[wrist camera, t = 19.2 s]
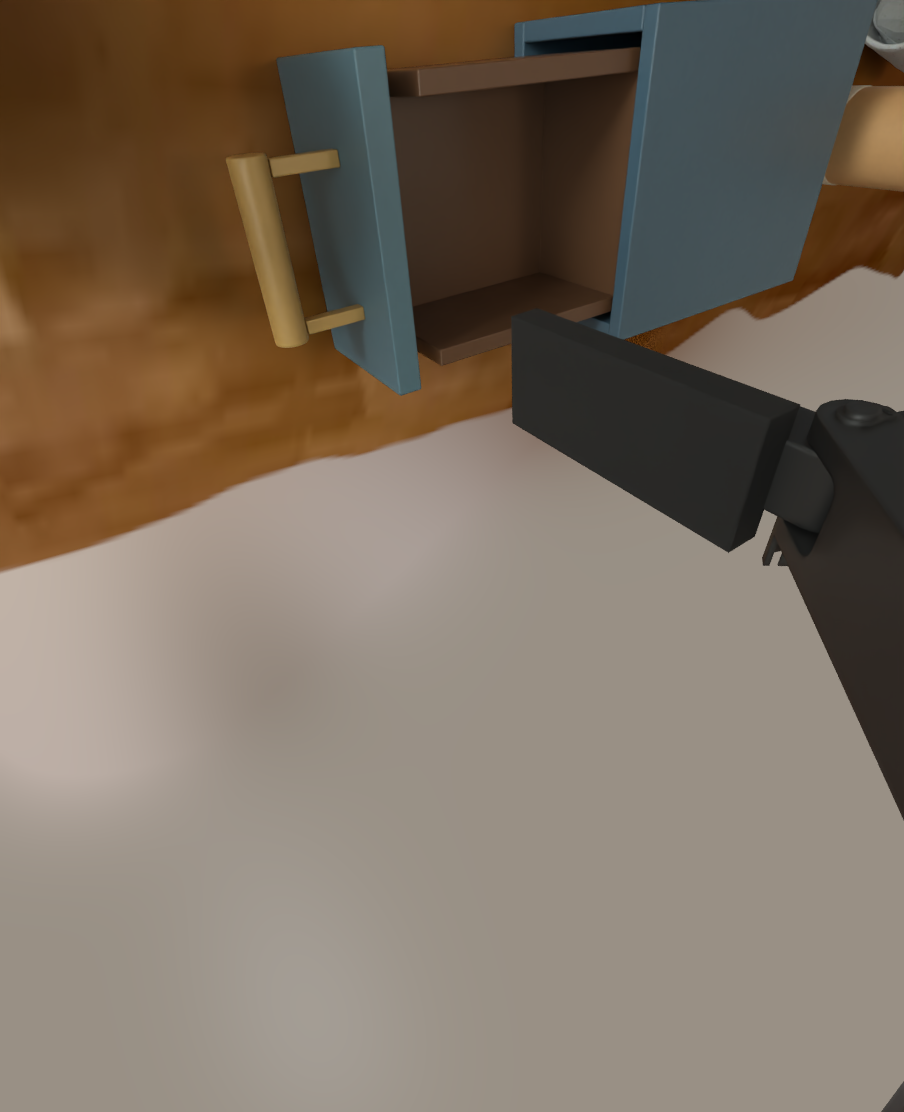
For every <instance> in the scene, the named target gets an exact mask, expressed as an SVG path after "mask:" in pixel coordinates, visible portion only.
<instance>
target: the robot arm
mask: <svg viewBox="0 0 904 1112" xmlns="http://www.w3.org/2000/svg"><path fill="white" fill-rule="evenodd" d="M511 332H512V415H513V424H515V425H517V426H518V427H520V428H522V429H523V430H525V431H527V432H528V433H530V434H532V435H533V436H535V437H537V438H538V439H540V440H542V441H543V442H545V443H547V444H548V445H550V446H552V447H554V448H555V449H557V450H558V451H560V452H562V453H563V454H565V455H567V456H568V457H570V458H572V459H573V460H575V461H577V462H578V463H580V464H582V465H583V466H585V467H587V468H588V469H590V470H592V471H593V472H595V473H597V474H599V475H600V476H602V477H603V478H605V479H607V480H608V481H610V482H612V483H613V484H615V485H617V486H618V487H620V488H622V489H623V490H625V491H627V492H629V493H630V494H632V495H633V496H635V497H637V498H639V499H640V500H642V501H644V502H645V503H647V504H648V505H650V506H652V507H653V508H655V509H657V510H658V511H660V512H662V513H664V514H665V515H667V516H669V517H670V518H672V519H673V520H675V521H677V522H678V523H680V524H682V525H683V526H685V527H687V528H689V529H690V530H692V531H693V532H695V533H697V534H698V535H700V536H702V537H703V538H705V539H707V540H709V541H710V542H712V543H713V544H715V545H717V546H718V547H720V548H722V549H723V550H725V551H727V552H728V553H729V552H730V551H732V550H733V549H735V548H737V547H738V546H740V545H742V544H743V543H745V542H746V541H748V540H750V539H751V538H753V537H754V536H755V534H756V531H757V528H758V526H759V523H760V520H761V517H762V513H763V511H764V510H766V511H768V512H770V513H772V514H774V515H776V516H777V519H776V522H775V525H774V528H773V530H772V533H771V536H770V538H769V541H768V544H767V546H766V549H765V552H764V554H763V557H762V560H763V565H764V566H765V565H766V566H769V564H770V562H771V559H772V557H773V554H774V552H778V551H782V555H781V557H780V560H779V562H778V566H788V567H789V569H790V571H791V573H792V575H793V578H794V580H795V582H796V584H797V587H798V589H799V591H800V593H801V595H802V597H803V600H804V602H805V604H806V606H807V609H808V611H809V613H810V615H811V617H812V620H813V622H814V624H815V626H816V628H817V631H818V633H819V635H820V637H821V639H822V642H823V644H824V646H825V648H826V650H827V653H828V655H829V657H830V659H831V661H832V664H833V666H834V668H835V670H836V672H837V674H838V677H839V679H840V681H841V683H842V685H843V687H844V690H845V692H846V694H847V696H848V699H849V701H850V703H851V705H852V707H853V710H854V712H855V714H856V716H857V718H858V721H859V723H860V725H861V727H862V729H863V731H864V734H865V736H866V738H867V740H868V742H869V745H870V747H871V749H872V751H873V754H874V756H875V758H876V760H877V762H878V765H879V767H880V769H881V771H882V773H883V776H884V778H885V780H886V782H887V784H888V786H889V789H890V791H891V793H892V795H893V798H894V800H895V802H896V804H897V806H898V808H899V811H900V813H901V815H902V817H903V819H904V411H900V412H896V411H894V410H893V409H891V408H890V407H887V406H883V405H880V404H877V403H871V402H867V401H863V400H848V399H844V400H835V401H829V402H827V403H824V404H822V405H821V406H820V407H819V408H818V409H817V411H816V412H814V411H811V410H809V409H806V408H803V407H800V404H797V403H794V402H792V401H789V400H786V399H783V398H780V397H778V396H775V395H773V394H770V393H767V392H764V391H762V390H759V389H756V388H753V387H751V386H748V385H745V384H742V383H740V382H737V381H734V380H732V379H729V378H726V377H724V376H721V375H718V374H715V373H712V372H710V371H707V370H704V369H702V368H699V367H696V366H694V365H690V364H688V363H685V362H683V361H680V360H677V359H674V358H672V357H669V356H666V355H664V354H661V353H658V352H655V351H653V350H650V349H647V348H644V347H642V346H639V345H636V344H634V343H631V342H628V341H625V340H623V339H620V338H617V337H614V336H612V335H609V334H606V333H604V332H601V331H598V330H595V329H593V328H590V327H587V326H585V325H582V324H579V323H576V322H574V321H571V320H568V319H565V318H563V317H560V316H557V315H555V314H552V313H549V312H546V311H544V310H541V309H538V308H536V309H533V310H529V311H526V312H523V313H520V314H517V315H514V316H511ZM882 1112H904V1082H903V1083H902V1084H901V1086H900V1087H899V1088H898V1090H897V1091H896V1093H895V1094H894V1095H893V1097H892V1098H891V1099H890V1101H889V1102H888V1103H887V1105H886V1106H885V1107H884V1109H883V1110H882Z"/></svg>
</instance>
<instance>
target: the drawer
mask: <svg viewBox="0 0 904 1112" xmlns="http://www.w3.org/2000/svg"><path fill="white" fill-rule="evenodd" d="M640 50H641V47H632V48H619V49H605V50H592V51H579V52H566V53H553V54H542V55H531V56H521V57H510V58H500V59H489V60H479V61H468V62H458V63H447V64H437V65H426V66H416V67H405V68H395V69H387V67H386V58H385V48H384V46H382V45H378V46H365V47H353V48H346V49H338V50H331V51H323V52H316V53H309V54H301V55H294V56H286V57H279V58H277V59H276V61H277V66H278V71H279V76H280V81H281V86H282V91H283V95H284V100H285V105H286V110H287V115H288V120H289V125H290V130H291V135H292V140H293V145H294V150H295V154H290V155H283V156H277V157H270V158H267V155H266V154H265V153H262V152H255V153H244V154H237V155H232V156H228V157H227V158H226V163H227V166H228V170H229V174H230V177H231V181H232V185H233V189H234V192H235V196H236V200H237V203H238V207H239V211H240V214H241V218H242V222H243V225H244V229H245V233H246V237H247V240H248V244H249V248H250V251H251V255H252V259H253V262H254V266H255V270H256V273H257V277H258V281H259V285H260V288H261V292H262V296H263V299H264V303H265V307H266V310H267V314H268V318H269V321H270V325H271V329H272V333H273V336H274V340H275V343H276V345H277V346H279V347H283V348H291V347H297V346H300V345H303V344H305V343H306V342H307V341H308V339H309V337H308V334H314V333H317V332H321V331H325V330H328V329H331V331H332V336H333V341H334V346H335V349H337V350H338V351H339V352H341V353H342V354H343V355H345V356H346V357H348V358H349V359H350V360H352V361H353V362H355V363H356V364H357V365H359V366H360V367H361V368H363V369H364V370H366V371H367V372H368V373H370V374H371V375H372V376H374V377H375V378H377V379H378V380H379V381H381V382H382V383H384V384H385V385H386V386H388V387H389V388H390V389H392V390H393V391H395V392H396V393H397V394H399V395H404V394H407V393H410V392H413V391H416V390H419V389H421V380H420V371H419V362H418V353H417V351H418V352H420V353H421V354H423V355H425V356H426V357H428V358H430V359H431V360H433V361H435V362H436V363H438V364H440V365H442V366H443V365H446V364H449V363H452V362H455V361H458V360H461V359H464V358H468V357H471V356H474V355H477V354H480V353H483V352H486V351H489V350H492V349H495V348H499V347H502V346H505V345H508V344H511V343H512V332H511V316H514V315H517V314H520V313H523V312H526V311H529V310H533V309H536V308H538V309H541V310H544V311H546V312H549V313H552V314H555V315H557V316H560V317H563V318H565V319H568V320H571V321H574V322H579V321H582V320H585V319H588V318H591V317H595V316H598V315H601V314H604V313H607V312H610V311H611V310H612V301H613V292H614V283H615V274H616V265H617V256H618V247H619V238H620V229H621V221H622V212H623V203H624V194H625V185H626V176H627V167H628V158H629V149H630V140H631V131H632V122H633V113H634V104H635V95H636V86H637V77H638V68H639V59H640ZM294 174H300V179H301V184H302V189H303V194H304V199H305V204H306V208H307V213H308V218H309V223H310V228H311V233H312V238H313V243H314V248H315V253H316V258H317V263H318V267H319V272H320V277H321V282H322V287H323V292H324V297H325V302H326V307H327V312H325V313H321V314H317V315H313V316H310V317H306V318H304V315H303V311H302V306H301V302H300V298H299V294H298V289H297V285H296V281H295V276H294V272H293V268H292V263H291V259H290V255H289V250H288V246H287V242H286V237H285V233H284V229H283V224H282V220H281V216H280V211H279V207H278V203H277V198H276V194H275V190H274V185H273V181H272V177H274V178H276V177H282V176H288V175H294Z"/></svg>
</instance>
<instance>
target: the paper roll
mask: <svg viewBox="0 0 904 1112" xmlns="http://www.w3.org/2000/svg"><path fill="white" fill-rule="evenodd" d="M822 184H828V185H846V186H856V187H865V188H875V189H885V190H894V191H904V86H870V85H865V86H852V87H851V90H850V94H849V97H848V100H847V104H846V107H845V110H844V114H843V117H842V120H841V123H840V127H839V130H838V133H837V137H836V140H835V143H834V147H833V150H832V153H831V156H830V160H829V163H828V166H827V170H826V173H825V176H824V180H823V183H822Z"/></svg>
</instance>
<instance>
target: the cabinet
mask: <svg viewBox="0 0 904 1112" xmlns="http://www.w3.org/2000/svg"><path fill="white" fill-rule="evenodd" d="M877 1H878V0H699V1H682V2H666V3H655V4H648V5H641V6H633V7H626V8H619V9H612V10H605V11H598V12H590V13H583V14H576V15H569V16H562V17H555V18H547V19H540V20H533V21H526V22H519V23H516V24H515V57H521V56H531V55H542V54H553V53H566V52H579V51H592V50H605V49H619V48H632V47H641V50H640V59H639V68H638V77H637V86H636V95H635V104H634V113H633V122H632V131H631V140H630V149H629V158H628V167H627V176H626V185H625V194H624V203H623V212H622V221H621V229H620V238H619V247H618V256H617V265H616V274H615V283H614V292H613V301H612V310H611V311H610V312H607V313H604V314H601V315H598V316H595V317H591V318H588V319H585V320H582V321H579V322H576V323H579V324H582V325H585V326H587V327H590V328H593V329H595V330H598V331H601V332H604V333H606V334H609V335H612V336H614V337H617V338H620V339H623V340H624V339H627V338H630V337H633V336H635V335H638V334H641V333H644V332H647V331H650V330H653V329H655V328H658V327H661V326H664V325H667V324H670V323H673V322H675V321H678V320H681V319H684V318H687V317H690V316H692V315H695V314H698V313H701V312H704V311H707V310H710V309H712V308H715V307H718V306H721V305H724V304H727V303H729V302H732V301H735V300H738V299H741V298H744V297H747V296H749V295H752V294H755V293H758V292H761V291H764V290H767V289H769V288H772V287H775V286H778V285H781V284H784V283H786V282H789V281H792V280H793V279H794V275H795V272H796V269H797V265H798V262H799V259H800V256H801V252H802V249H803V246H804V242H805V239H806V236H807V232H808V229H809V226H810V222H811V219H812V216H813V213H814V209H815V206H816V203H817V199H818V196H819V193H820V189H821V186H822V183H823V180H824V176H825V173H826V170H827V166H828V163H829V160H830V156H831V153H832V150H833V147H834V143H835V140H836V137H837V133H838V130H839V127H840V123H841V120H842V117H843V114H844V110H845V107H846V104H847V100H848V97H849V94H850V90H851V87H852V84H853V80H854V77H855V74H856V71H857V67H858V64H859V61H860V57H861V54H862V51H863V47H864V44H865V41H866V38H867V34H868V31H869V28H870V24H871V21H872V18H873V14H874V11H875V8H876V5H877Z"/></svg>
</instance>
